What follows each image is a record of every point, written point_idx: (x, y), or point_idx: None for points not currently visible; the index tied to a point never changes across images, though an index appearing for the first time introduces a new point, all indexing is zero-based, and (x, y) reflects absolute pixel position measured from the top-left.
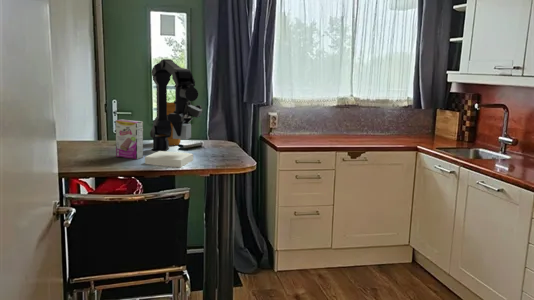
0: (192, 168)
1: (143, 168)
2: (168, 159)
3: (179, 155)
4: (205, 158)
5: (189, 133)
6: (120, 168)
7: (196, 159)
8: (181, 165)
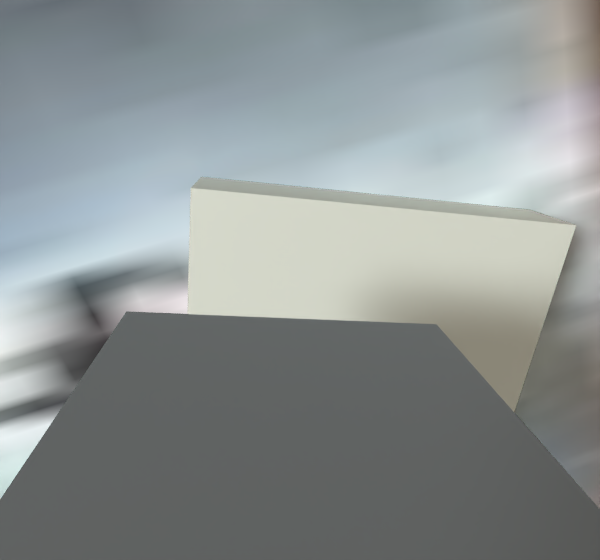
0: (568, 82)
1: (586, 451)
2: (529, 352)
3: (342, 312)
4: (24, 58)
5: (226, 375)
6: None
7: (132, 156)
8: (525, 210)
